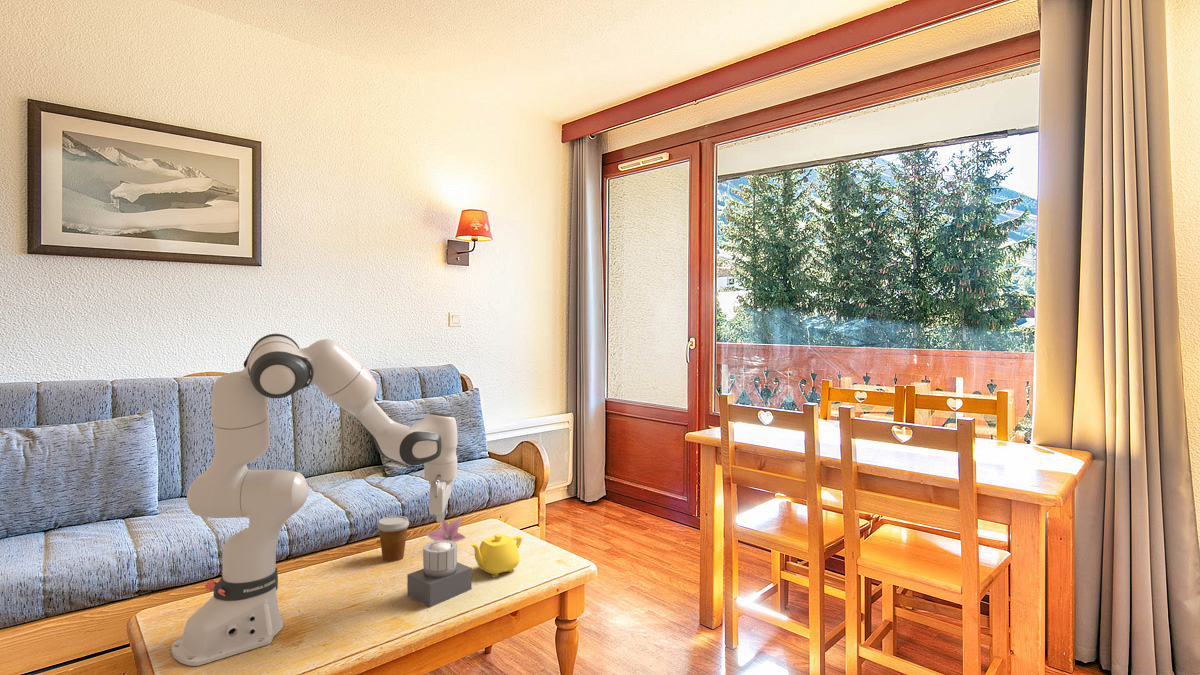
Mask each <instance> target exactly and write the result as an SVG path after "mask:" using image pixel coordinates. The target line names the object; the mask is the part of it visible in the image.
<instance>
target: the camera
mask: <svg viewBox="0 0 1200 675" xmlns="http://www.w3.org/2000/svg"><path fill="white" fill-rule="evenodd" d="M440 542H446V543H450V544H451V548H449V549H446V550H441V551H435V550H431V546H432V545H433V544H435V543H440ZM422 551H423V552H422V557H423V559H422V561H423V562H422V565H423V568H421V569H419V570H415V571H413V572H411V573H408V574H407V577H406V578H407V579H406V580H407V581H406V584H407V585H406V587H407V588H406V589H407V592H406V595H407V597H408V598H411V599H413V600H415V601H417V602H419V603H421V604H423V605H425V606H427V607H429V608H432V607H434V606H436V605H438V604H441V603H443V602H446V601H447V600H450V599H453V598H454V597H456V596H457V597H458V595H459V596H460V595H461V594H463V593H466V592H468V591H470V590H472V583H473V582H472V579H473V578H472V571H473V570H472V567H470V566H468V565H466V564H463V563H460V562H458V545H457V543H456V542H452V541H447V540H440V541H434V540H433V541H431V542H427V543H426V544H424V545H423V548H422Z"/></svg>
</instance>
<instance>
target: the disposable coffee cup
mask: <svg viewBox="0 0 1200 675" xmlns="http://www.w3.org/2000/svg"><path fill="white" fill-rule="evenodd" d="M409 524H410V522H409V519H408V517H406V516H403V515H390V516H385V517H382V518H381V519H379V520H378V524H377V526H376V528H377V529H378V531H379V540H380V548H381V555H382V560H383V561H384V562H397V561H401V560H402V559H404V557H405V549H406V543H407V542H406V540H407V534H408V527H409V526H410V525H409Z"/></svg>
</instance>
